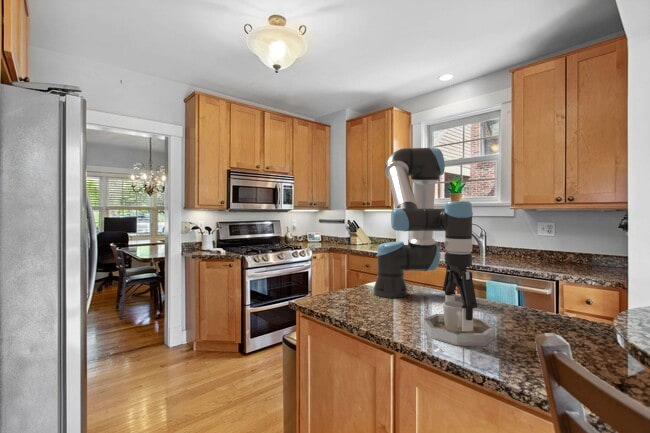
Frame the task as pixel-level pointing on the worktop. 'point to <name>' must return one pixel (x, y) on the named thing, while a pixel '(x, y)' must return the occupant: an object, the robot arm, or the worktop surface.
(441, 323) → the octagonal tray
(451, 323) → the cup
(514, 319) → the worktop surface
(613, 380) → the worktop surface
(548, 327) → the worktop surface
